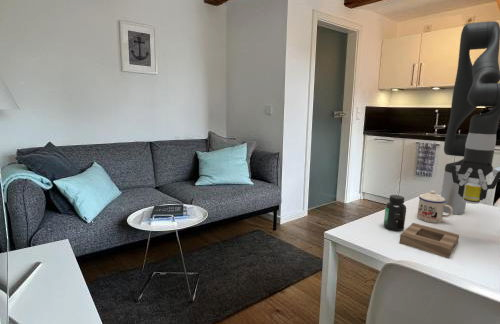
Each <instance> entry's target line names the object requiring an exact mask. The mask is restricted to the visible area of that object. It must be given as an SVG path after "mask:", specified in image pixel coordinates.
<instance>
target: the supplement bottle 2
mask: <svg viewBox="0 0 500 324" xmlns="http://www.w3.org/2000/svg"><path fill="white" fill-rule="evenodd" d="M481 189H482V184H481V181H480V179H477V178H470V177H468V178H467V182H465V185H464V191H463V198H462V200H463V201H464V202H466V204H472V205H474V204H475V205H478V204H480V202H481V200H480V195H481Z"/></svg>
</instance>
